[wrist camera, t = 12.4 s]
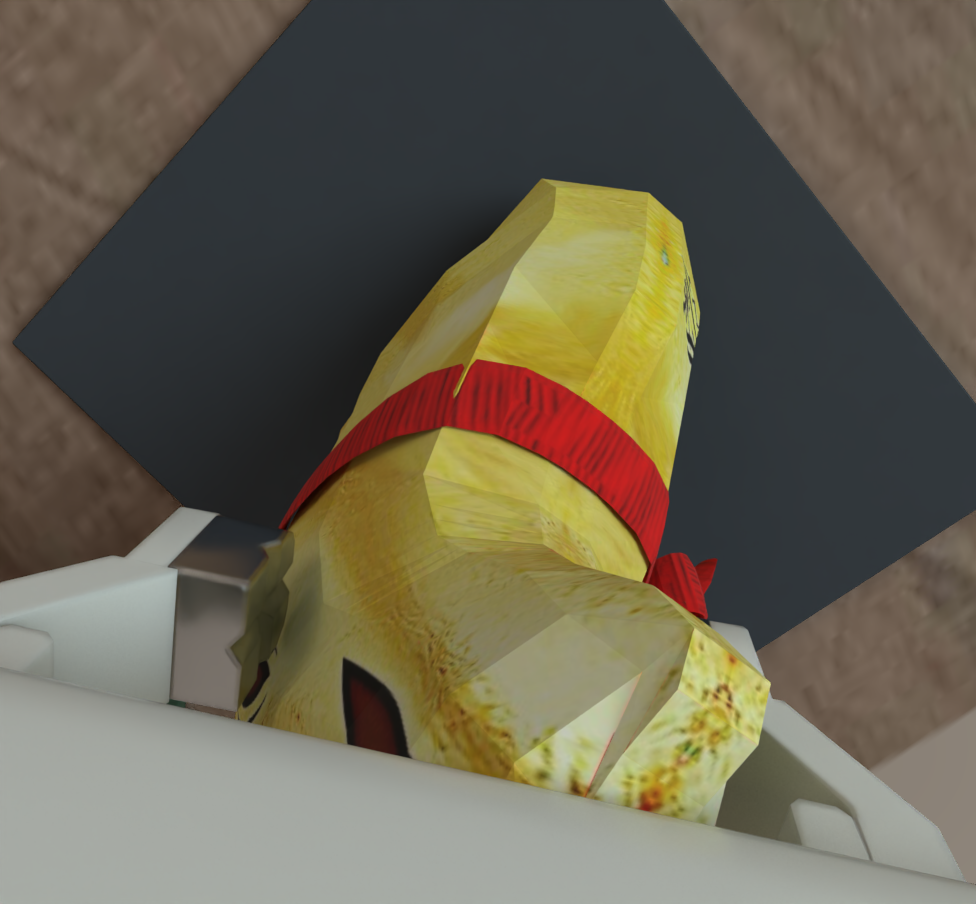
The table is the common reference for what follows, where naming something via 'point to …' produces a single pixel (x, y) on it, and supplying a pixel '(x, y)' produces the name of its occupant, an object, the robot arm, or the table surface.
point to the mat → (470, 222)
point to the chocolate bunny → (522, 530)
